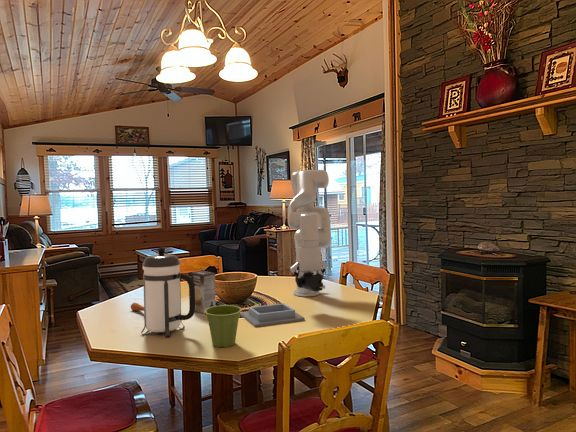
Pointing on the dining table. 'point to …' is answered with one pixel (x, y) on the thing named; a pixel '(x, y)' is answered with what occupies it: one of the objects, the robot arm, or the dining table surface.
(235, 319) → the plant pot
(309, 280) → the black lumpy block
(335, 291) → the dining table surface
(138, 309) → the kendama
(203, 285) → the coffee box
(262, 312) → the tray
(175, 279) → the coffee press
